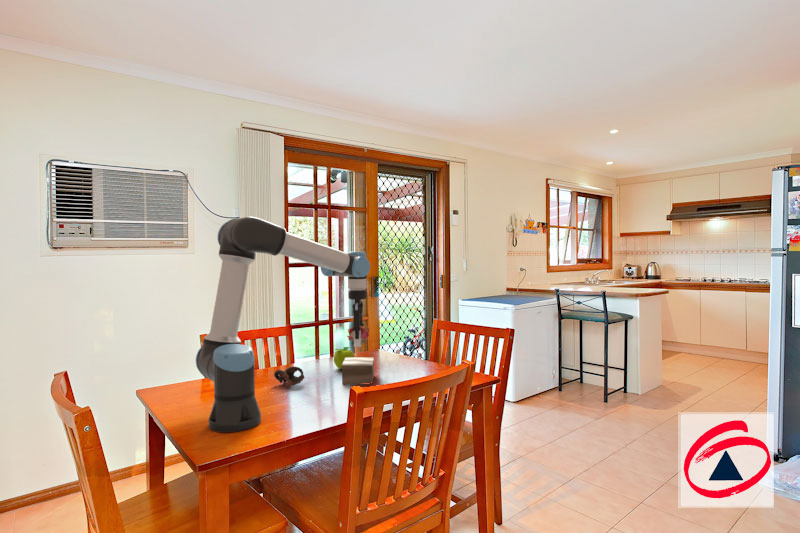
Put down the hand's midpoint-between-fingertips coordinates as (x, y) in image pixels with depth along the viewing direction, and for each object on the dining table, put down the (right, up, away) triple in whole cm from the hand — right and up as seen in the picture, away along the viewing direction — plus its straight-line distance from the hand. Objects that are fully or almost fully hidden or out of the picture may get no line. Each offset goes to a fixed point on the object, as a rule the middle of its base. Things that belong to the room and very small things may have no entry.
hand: (358, 344), depth 185 cm
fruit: (-8, -15, +18) cm, 25 cm away
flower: (0, 0, 0) cm, 0 cm away
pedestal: (0, -15, 0) cm, 15 cm away
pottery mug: (-27, -15, -5) cm, 31 cm away
